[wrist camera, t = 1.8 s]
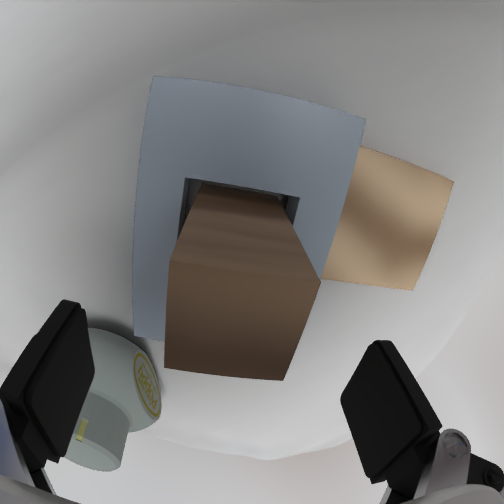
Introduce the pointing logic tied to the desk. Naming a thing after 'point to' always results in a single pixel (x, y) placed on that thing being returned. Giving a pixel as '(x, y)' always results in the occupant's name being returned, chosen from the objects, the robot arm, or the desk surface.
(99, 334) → the air freshener
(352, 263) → the cork mat
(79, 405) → the robot arm
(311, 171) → the holder
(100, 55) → the desk surface
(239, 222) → the walnut block
